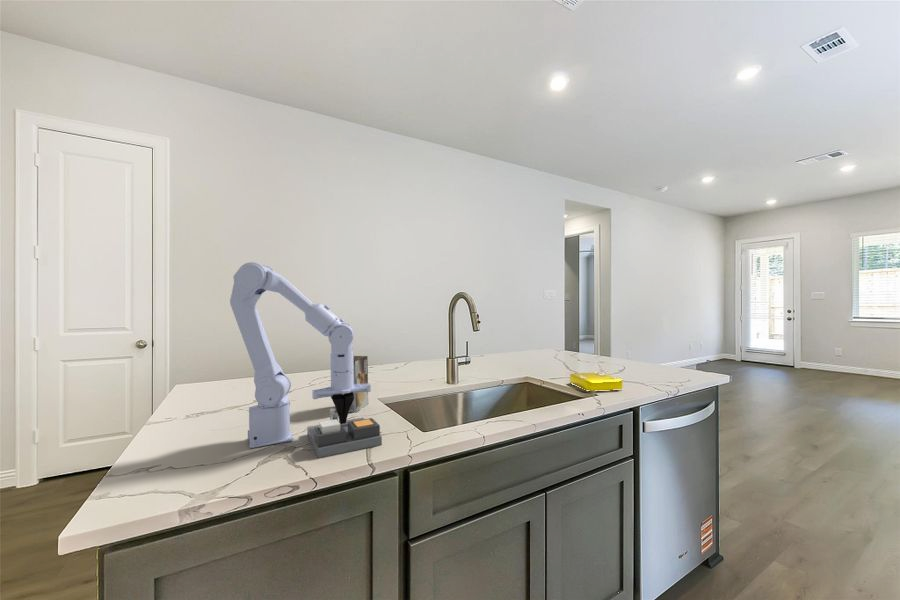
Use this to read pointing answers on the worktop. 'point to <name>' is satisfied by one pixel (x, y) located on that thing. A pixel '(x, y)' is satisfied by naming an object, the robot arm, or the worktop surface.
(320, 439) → the panel
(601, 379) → the element tile
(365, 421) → the orange button
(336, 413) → the paddle
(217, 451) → the worktop surface
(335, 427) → the grey button
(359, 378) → the coffee box
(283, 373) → the robot arm
